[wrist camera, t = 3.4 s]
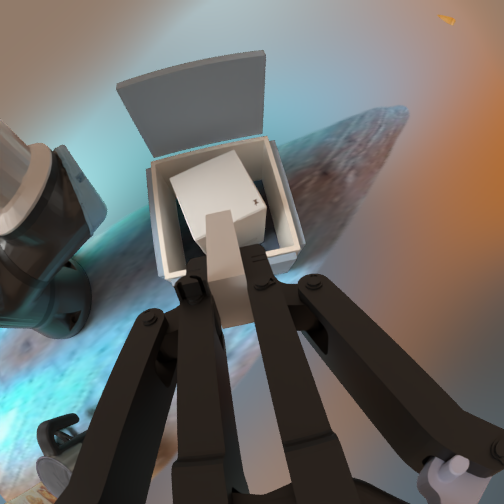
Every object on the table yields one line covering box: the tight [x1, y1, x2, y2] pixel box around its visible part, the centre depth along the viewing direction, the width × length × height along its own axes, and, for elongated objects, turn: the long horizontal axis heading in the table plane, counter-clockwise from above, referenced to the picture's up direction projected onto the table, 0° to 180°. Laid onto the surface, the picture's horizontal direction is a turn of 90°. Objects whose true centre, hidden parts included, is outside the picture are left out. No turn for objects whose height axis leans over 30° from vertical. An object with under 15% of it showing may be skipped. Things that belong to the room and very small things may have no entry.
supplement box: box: [170, 150, 267, 255], centre depth 40 cm, size 9×9×15 cm
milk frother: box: [36, 413, 87, 499], centre depth 31 cm, size 14×16×15 cm
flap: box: [116, 50, 266, 158], centre depth 30 cm, size 1×15×14 cm, turn 103°
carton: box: [146, 136, 306, 287], centre depth 41 cm, size 17×18×12 cm
